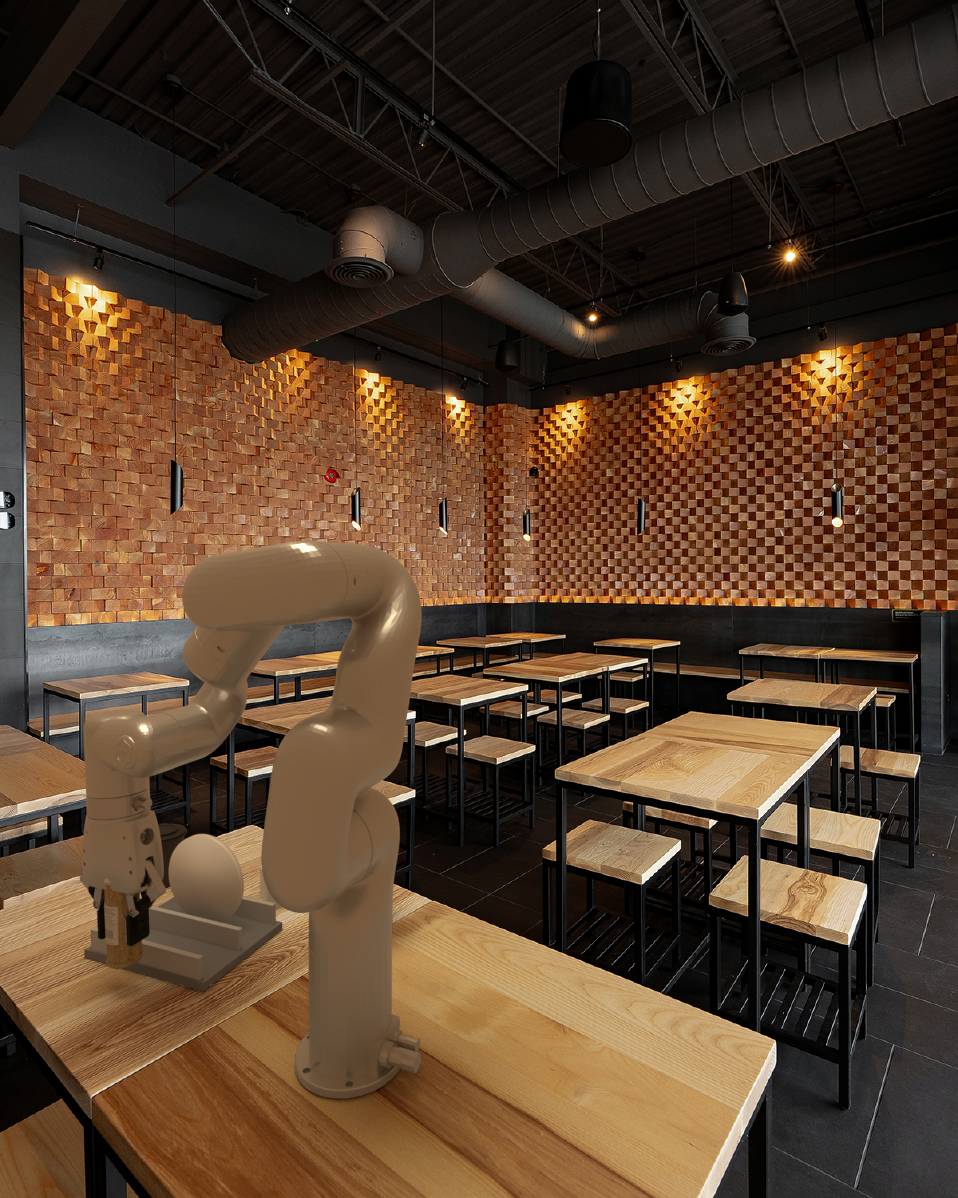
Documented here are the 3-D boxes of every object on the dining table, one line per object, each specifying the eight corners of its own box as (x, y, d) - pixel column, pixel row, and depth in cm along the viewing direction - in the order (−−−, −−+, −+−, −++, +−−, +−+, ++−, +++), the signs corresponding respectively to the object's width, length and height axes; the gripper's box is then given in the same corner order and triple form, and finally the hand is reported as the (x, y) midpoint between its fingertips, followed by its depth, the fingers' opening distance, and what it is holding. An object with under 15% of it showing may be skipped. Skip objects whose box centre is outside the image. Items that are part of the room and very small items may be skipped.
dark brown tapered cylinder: (172, 868, 129) (172, 816, 128) (196, 880, 124) (196, 826, 123) (129, 884, 122) (129, 829, 122) (153, 897, 117) (153, 840, 117)
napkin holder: (283, 919, 111) (283, 885, 111) (221, 912, 113) (220, 879, 113) (322, 878, 126) (322, 848, 126) (266, 873, 128) (266, 843, 128)
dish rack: (282, 929, 107) (281, 835, 107) (203, 992, 91) (202, 881, 91) (174, 904, 115) (173, 815, 114) (84, 957, 99) (82, 855, 98)
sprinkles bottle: (145, 963, 91) (142, 864, 90) (107, 974, 88) (103, 873, 88) (141, 947, 95) (137, 852, 94) (104, 958, 92) (100, 860, 92)
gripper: (189, 801, 91) (194, 934, 92) (97, 789, 97) (102, 914, 98) (143, 820, 84) (149, 964, 85) (47, 806, 90) (53, 941, 91)
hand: (124, 936), depth 91 cm, fingers closed on sprinkles bottle, 4 cm apart
